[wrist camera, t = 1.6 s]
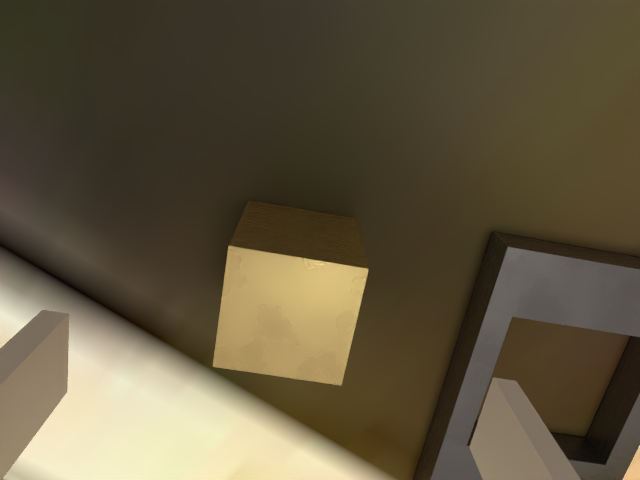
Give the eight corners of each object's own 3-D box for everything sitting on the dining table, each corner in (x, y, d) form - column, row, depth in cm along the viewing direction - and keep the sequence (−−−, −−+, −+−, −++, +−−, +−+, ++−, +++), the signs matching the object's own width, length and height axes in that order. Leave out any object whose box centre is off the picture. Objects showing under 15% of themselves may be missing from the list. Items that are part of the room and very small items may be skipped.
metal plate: (492, 231, 24) (508, 247, 22) (688, 265, 25) (721, 284, 23) (402, 515, 30) (408, 547, 28) (562, 535, 31) (579, 568, 29)
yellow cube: (248, 199, 23) (228, 245, 18) (355, 217, 24) (368, 268, 18) (235, 296, 25) (212, 366, 19) (334, 311, 25) (341, 385, 20)
